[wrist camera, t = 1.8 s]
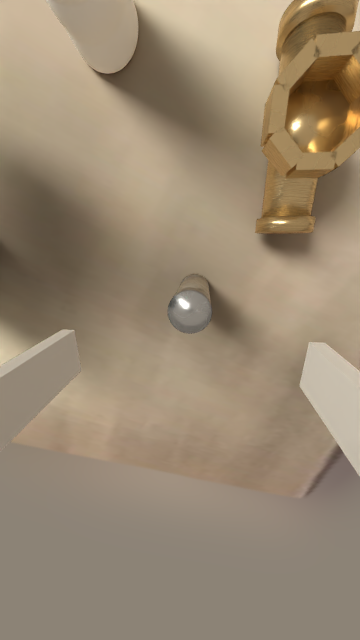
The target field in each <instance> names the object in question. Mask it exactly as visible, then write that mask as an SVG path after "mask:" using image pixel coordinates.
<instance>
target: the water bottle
mask: <svg viewBox="0 0 360 640" xmlns="http://www.w3.org/2000/svg"><path fill="white" fill-rule="evenodd" d="M46 2H47V3H48V5H49V7H50V8H51V10H52V11H53V13H54V14H55V16H56V17H57V19H58V20H59V21H60V23H61V24H62V25H63V26H64V28H65V29H66V31H67V33H68V35H69V37H70V39H71V40H72V42H73V44H74V45H75V47H76V49H77V50H78V52H79V53H80V55H81V56H82V58H83V59H84V60H85V62H86V63H87V64H88V65H89V66H90V67H92V68H93V69H95V70H96V71H98V72H101V73H106V74H110V73H115V72H117V71H119V70H121V69H122V68H124V67H125V66H126V65H127V64H128V62H129V61H130V59H131V58H132V56H133V54H134V51H135V48H136V45H137V40H138V17H137V12H136V7H135V4H134V0H46Z"/></svg>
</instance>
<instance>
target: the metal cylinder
mask: <svg viewBox="0 0 360 640" xmlns="http://www.w3.org/2000/svg"><path fill="white" fill-rule="evenodd" d="M168 317H169V320H170V322H171V324H172V325H173V326H174V327H175V328H176V329H177V330H179V331H181V332H183V333H197V332H199V331H201V330H203V329H204V328H205V327H206V326H207V325H208V324H209V322H210V320H211V317H212V307H211V302H210V294H209V284H208V282H207V280H206V279H205V278H204V277H203V276H201V275H199V274H191V275H188V276H187V277H185V278H184V279H183V281H182V283H181V285H180V287H179V289H178V290H177V292H176V294H175V295H174V296H173V298H172V300H171V301H170V303H169V306H168Z"/></svg>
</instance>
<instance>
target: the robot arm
mask: <svg viewBox="0 0 360 640" xmlns="http://www.w3.org/2000/svg"><path fill="white" fill-rule="evenodd" d="M80 371H81V364H80V358H79V352H78V346H77V340H76V334H75V330H66V329H62V330H61V331H59V332H57V333H55V334H54V335H52V336H50V337H49V338H47V339H45V340H43V341H42V342H40V343H38V344H37V345H35V346H33V347H31V348H30V349H28V350H26V351H25V352H23V353H21V354H19V355H18V356H16V357H14V358H13V359H11V360H9V361H7V362H6V363H4V364H2V365H1V366H0V451H1V450H2V449H3V448H4V447H5V446H6V445H7V444H8V443H9V442H10V441H11V440H12V439H13V438H14V437H15V436H16V435H17V434H18V433H19V432H20V431H21V430H22V429H23V428H24V427H25V426H26V425H27V424H28V423H29V422H30V421H31V420H32V419H33V418H34V417H35V416H36V415H37V414H38V413H39V412H40V411H41V410H42V409H43V408H44V407H45V406H46V405H47V404H48V403H49V402H50V401H51V400H52V399H53V398H54V397H55V396H56V395H57V394H58V393H59V392H60V391H61V390H62V389H63V388H64V387H65V386H66V385H67V384H68V383H69V382H70V381H71V380H72V379H73V378H74V377H75V376H76V375H77V374H78V373H79V372H80ZM299 386H300V388H301V389H302V391H303V392H304V394H305V395H306V397H307V398H308V400H309V401H310V403H311V404H312V406H313V407H314V409H315V410H316V412H317V413H318V415H319V416H320V418H321V419H322V421H323V422H324V424H325V425H326V427H327V428H328V430H329V431H330V433H331V434H332V436H333V437H334V439H335V440H336V442H337V443H338V445H339V446H340V448H341V449H342V451H343V452H344V454H345V455H346V457H347V458H348V460H349V461H350V463H351V464H352V466H353V467H354V469H355V470H356V472H357V473H358V475H359V476H360V371H359V370H358V369H356V368H355V367H354V366H353V365H351V364H350V363H349V362H348V361H347V360H345V359H344V358H343V357H342V356H340V355H339V354H338V353H337V352H335V351H334V350H333V349H332V348H331V347H329V346H328V345H327V344H326V343H319V342H309V345H308V350H307V354H306V359H305V363H304V368H303V372H302V376H301V381H300V385H299Z"/></svg>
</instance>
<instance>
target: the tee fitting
mask: <svg viewBox="0 0 360 640" xmlns="http://www.w3.org/2000/svg"><path fill="white" fill-rule="evenodd" d="M358 2H359V0H294V1H293V2H292V3H291V4H290V5H289V7H288V8H287V9H286V11H285V12H284V14H283V16H282V18H281V21H280V24H279V29H278V38H277V47H276V55H277V58H278V59H279V61H280V68H279V76H278V78H277V79H276V81H275V84H274V86H273V88H272V90H271V93H270V95H269V97H268V100H267V102H266V104H265V111H264V120H263V130H262V139H261V146H264V148H263V150H262V152H263V153H264V155H265V156H266V157H267V158H268V167H267V176H266V184H265V192H264V200H263V209H262V217H261V218H260V219H257V221H256V230H255V233H261V234H292V233H310V232H313V229H314V224H315V218H316V217H313V216H311V211H312V206H313V201H314V196H315V190H316V185H317V180H318V178H319V177H321V176H324V175H325V174H327V173H329V172H331V171H332V170H334V169H336V168H337V167H339V166H340V165H341V164H342V163H343V162H344V161H345V160H347V159H348V158H349V157H350V156H351V155H352V154H353V153H354V152H355V151H356V150H357V149H359V148H360V31H355V32H351V31H352V29H353V26H354V22H355V17H356V12H357V7H358Z"/></svg>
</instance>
